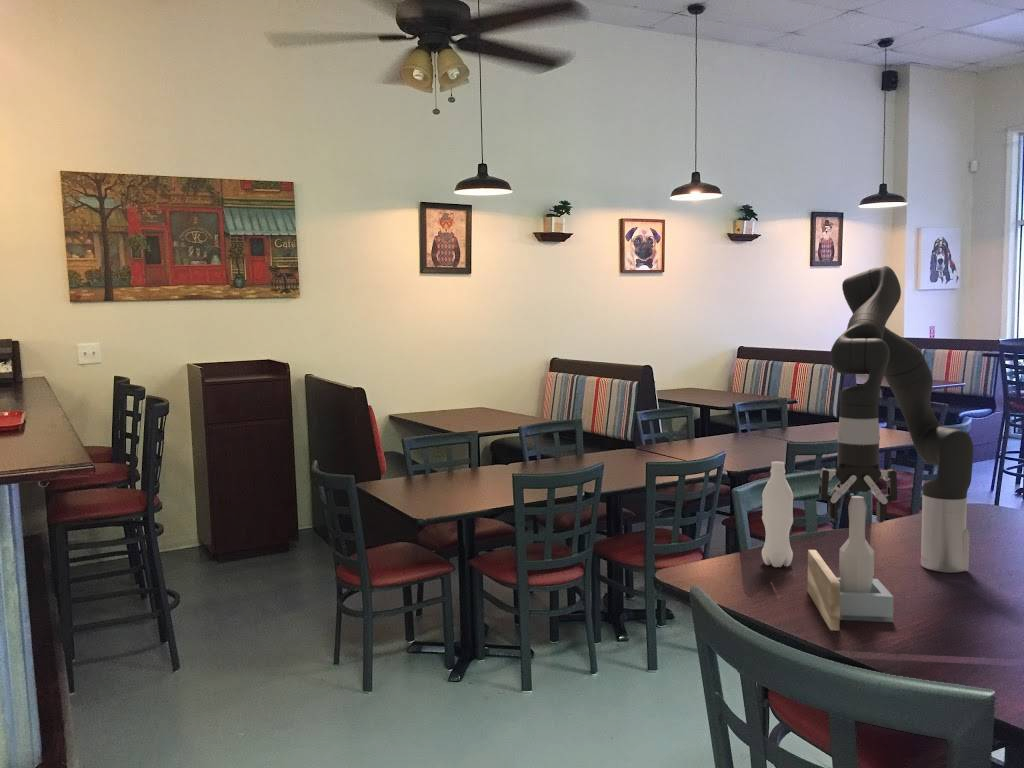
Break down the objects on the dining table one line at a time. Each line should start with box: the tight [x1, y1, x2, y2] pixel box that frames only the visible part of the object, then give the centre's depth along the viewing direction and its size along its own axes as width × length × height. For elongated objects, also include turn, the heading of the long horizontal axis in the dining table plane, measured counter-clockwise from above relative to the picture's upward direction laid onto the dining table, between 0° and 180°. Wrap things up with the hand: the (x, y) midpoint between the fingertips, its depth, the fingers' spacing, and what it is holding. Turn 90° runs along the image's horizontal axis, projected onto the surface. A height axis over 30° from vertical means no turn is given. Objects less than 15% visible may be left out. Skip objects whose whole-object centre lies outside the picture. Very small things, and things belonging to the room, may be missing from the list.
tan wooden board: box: [807, 549, 841, 631], centre depth 161 cm, size 22×22×10 cm
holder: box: [835, 576, 895, 623], centre depth 161 cm, size 11×11×5 cm
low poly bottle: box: [838, 495, 875, 593], centre depth 161 cm, size 6×6×22 cm
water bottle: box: [761, 460, 794, 568], centre depth 195 cm, size 7×7×25 cm
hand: (856, 521), depth 160 cm, fingers open, 8 cm apart
